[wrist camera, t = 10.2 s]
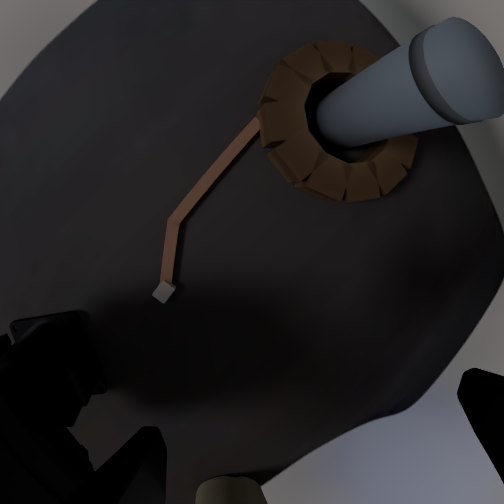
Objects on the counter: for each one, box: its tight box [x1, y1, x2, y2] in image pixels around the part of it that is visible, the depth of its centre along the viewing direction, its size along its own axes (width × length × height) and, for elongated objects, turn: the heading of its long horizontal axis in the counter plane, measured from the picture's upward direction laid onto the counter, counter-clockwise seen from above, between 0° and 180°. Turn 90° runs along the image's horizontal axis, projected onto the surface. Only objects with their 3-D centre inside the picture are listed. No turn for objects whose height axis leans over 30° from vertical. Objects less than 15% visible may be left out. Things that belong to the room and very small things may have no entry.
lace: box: [152, 117, 260, 304], centre depth 18 cm, size 12×3×1 cm, turn 140°
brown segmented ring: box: [256, 41, 418, 203], centre depth 17 cm, size 10×10×2 cm
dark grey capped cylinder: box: [308, 17, 504, 151], centre depth 12 cm, size 4×4×12 cm
